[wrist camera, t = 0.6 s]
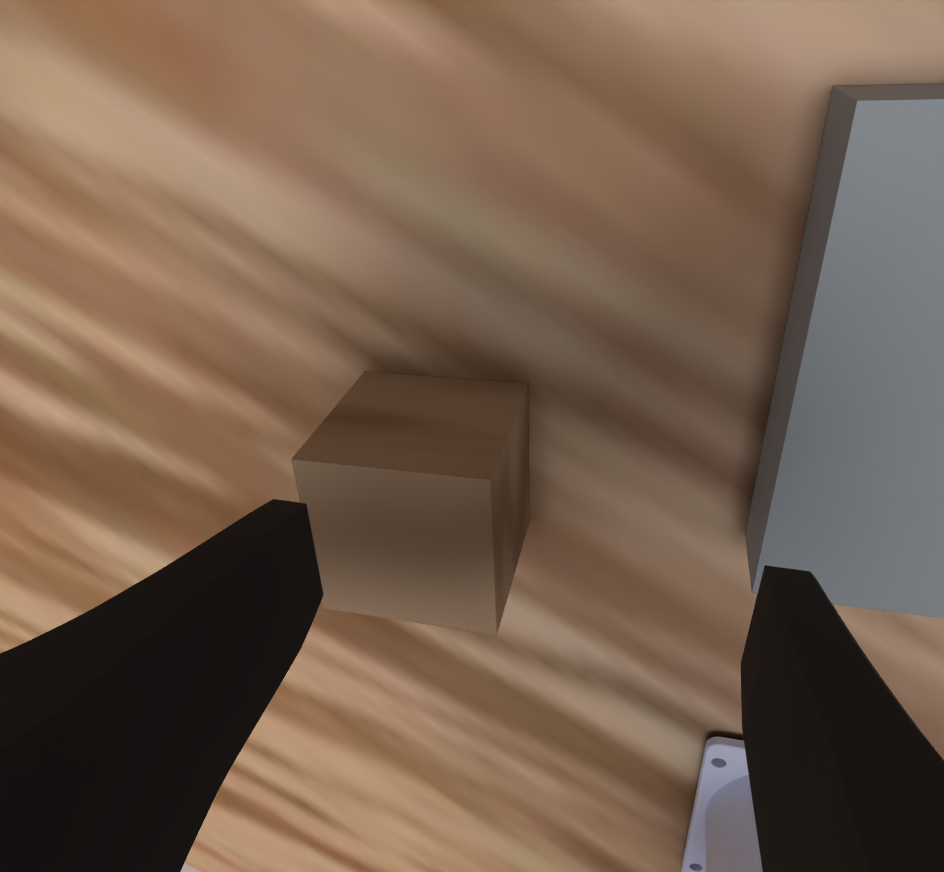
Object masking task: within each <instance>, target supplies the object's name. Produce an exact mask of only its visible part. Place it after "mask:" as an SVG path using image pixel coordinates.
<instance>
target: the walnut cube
mask: <svg viewBox="0 0 944 872" xmlns="http://www.w3.org/2000/svg"><path fill="white" fill-rule="evenodd" d="M291 460H292V465H293V470H294V475H295V479H296V484H297V489H298V493H299V498H300V503H305V504H307V509H308V514H309V520H310V525H311V530H312V536H313V541H314V546H315V552H316V557H317V562H318V567H319V573H320V578H321V583H322V589H323V594H324V595H323V597H322V600H321V601H322V606H323V608H325V609H331V610H338V611H344V612H351V613H357V614H364V615H370V616H377V617H383V618H389V619H396V620H402V621H409V622H415V623H422V624H428V625H435V626H441V627H447V628H454V629H460V630H467V631H473V632H480V633H486V634H493V635H497V632H498V629H499V625H500V622H501V618H502V615H503V611H504V608H505V604H506V601H507V597H508V594H509V590H510V587H511V583H512V580H513V576H514V573H515V570H516V566H517V563H518V559H519V556H520V552H521V549H522V545H523V542H524V538H525V535H526V531H527V528H528V524H529V402H528V383H521V382H507V381H493V380H478V379H464V378H450V377H436V376H422V375H408V374H394V373H380V372H366V371H365V372H364V373H363V374H362V375H361V377H360V378H359V379H358V380H357V381H356V383H355V384H354V385H353V386H352V387H351V389H350V390H349V391H348V392H347V393H346V395H345V396H344V397H343V398H342V399H341V401H340V402H339V403H338V404H337V405H336V407H335V408H334V409H333V410H332V411H331V413H330V414H329V415H328V416H327V417H326V419H325V420H324V421H323V422H322V423H321V425H320V426H319V427H318V428H317V429H316V430H315V432H314V433H313V434H312V435H311V436H310V438H309V439H308V440H307V441H306V442H305V444H304V445H303V446H302V447H301V448H300V450H299V451H298V452H297V453H296V454H295V456H294V457H293V458H292V459H291Z"/></svg>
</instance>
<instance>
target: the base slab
mask: <svg viewBox="0 0 944 872" xmlns="http://www.w3.org/2000/svg"><path fill="white" fill-rule="evenodd" d="M745 537H746V546H747V554H748V563H749V571H750V580H751V588H752V593H755V594H758V590H759V586H760V582H761V578H762V574H763V570H764V566H765V565H767V566H774V567H782V568H789V569H797V570H804V571H810V572H811V573H812V574H813V575H814V576H815V578H816V579H817V580H818V582H819V584H820V585H821V587H822V589H823V590H824V592H825V593H826V595H827V597H828V598H829V600H830V602H831V603H832V604H839V605H847V606H854V607H862V608H870V609H877V610H885V611H893V612H900V613H908V614H916V615H923V616H931V617H939V618H944V83H934V84H893V85H852V86H833V88H832V93H831V98H830V103H829V109H828V114H827V119H826V124H825V129H824V134H823V139H822V144H821V149H820V155H819V160H818V165H817V170H816V175H815V180H814V185H813V190H812V195H811V201H810V206H809V211H808V216H807V221H806V226H805V231H804V236H803V241H802V247H801V252H800V257H799V262H798V267H797V272H796V277H795V282H794V287H793V293H792V298H791V303H790V308H789V313H788V318H787V323H786V328H785V333H784V339H783V344H782V349H781V354H780V359H779V364H778V369H777V374H776V379H775V385H774V390H773V395H772V400H771V405H770V410H769V415H768V420H767V425H766V431H765V436H764V441H763V446H762V451H761V456H760V461H759V466H758V471H757V477H756V482H755V487H754V492H753V497H752V502H751V507H750V512H749V517H748V523H747V528H746V533H745Z"/></svg>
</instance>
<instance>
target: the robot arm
mask: <svg viewBox="0 0 944 872" xmlns="http://www.w3.org/2000/svg"><path fill="white" fill-rule="evenodd" d="M323 595H324V594H323V589H322V583H321V578H320V573H319V567H318V562H317V557H316V552H315V546H314V541H313V536H312V530H311V525H310V520H309V514H308V509H307V504H305V503H298V502H290V501H283V500H275V499H273V500H271V501H270V502H268V503H266V504H264V505H262V506H261V507H259V508H257V509H256V510H254V511H253V512H251V513H249V514H248V515H246V516H244V517H243V518H241V519H240V520H238V521H237V522H235V523H233V524H232V525H230V526H229V527H227V528H226V529H224V530H222V531H221V532H219V533H218V534H216V535H215V536H213V537H212V538H210V539H208V540H207V541H205V542H204V543H202V544H201V545H199V546H197V547H196V548H194V549H193V550H191V551H189V552H188V553H186V554H185V555H183V556H182V557H180V558H178V559H177V560H175V561H174V562H172V563H170V564H169V565H167V566H166V567H164V568H162V569H161V570H159V571H157V572H156V573H154V574H152V575H151V576H149V577H147V578H145V579H144V580H142V581H140V582H138V583H137V584H135V585H133V586H132V587H130V588H128V589H126V590H125V591H123V592H121V593H120V594H118V595H116V596H114V597H113V598H111V599H109V600H107V601H106V602H104V603H102V604H101V605H99V606H97V607H95V608H93V609H91V610H89V611H88V612H86V613H84V614H82V615H80V616H78V617H76V618H74V619H72V620H70V621H68V622H67V623H65V624H63V625H61V626H58V627H56V628H54V629H52V630H50V631H48V632H46V633H44V634H42V635H40V636H38V637H36V638H34V639H32V640H30V641H28V642H26V643H23V644H21V645H19V646H17V647H15V648H12V649H10V650H8V651H5V652H3V653H1V654H0V872H180V871H181V869H182V867H183V864H184V862H185V860H186V858H187V855H188V853H189V851H190V849H191V847H192V845H193V843H194V840H195V838H196V836H197V834H198V832H199V830H200V828H201V826H202V823H203V821H204V819H205V817H206V815H207V813H208V811H209V809H210V806H211V804H212V802H213V800H214V798H215V796H216V794H217V792H218V790H219V788H220V786H221V784H222V783H223V781H224V779H225V777H226V775H227V773H228V772H229V770H230V768H231V766H232V764H233V763H234V761H235V759H236V758H237V756H238V754H239V753H240V751H241V749H242V748H243V746H244V744H245V742H246V741H247V739H248V737H249V736H250V734H251V732H252V731H253V729H254V727H255V726H256V724H257V722H258V721H259V719H260V717H261V716H262V714H263V712H264V711H265V709H266V707H267V706H268V704H269V702H270V701H271V699H272V697H273V695H274V694H275V692H276V690H277V689H278V687H279V685H280V684H281V682H282V680H283V678H284V677H285V675H286V673H287V672H288V670H289V668H290V666H291V665H292V663H293V661H294V660H295V658H296V656H297V654H298V652H299V651H300V649H301V647H302V645H303V642H304V640H305V638H306V636H307V633H308V631H309V629H310V627H311V624H312V622H313V620H314V617H315V615H316V612H317V610H318V607H319V605H320V602H321V600H322V597H323ZM741 700H742V730H743V738H744V741H743V740H737V739H731V738H726V737H712V738H710V739H708V740H707V742H706V744H705V749H704V754H703V759H702V764H701V769H700V775H699V780H698V785H697V790H696V795H695V800H694V805H693V810H692V815H691V820H690V825H689V830H688V835H687V840H686V846H685V851H684V856H683V861H682V866H681V872H944V760H943V759H942V757H941V756H940V755H939V754H938V752H937V751H936V750H935V749H934V747H933V746H932V745H931V744H930V742H929V741H928V740H927V739H926V737H925V736H924V735H923V734H922V732H921V731H920V730H919V728H918V727H917V726H916V724H915V723H914V722H913V720H912V719H911V718H910V717H909V715H908V714H907V713H906V711H905V710H904V709H903V707H902V706H901V704H900V703H899V702H898V700H897V699H896V698H895V696H894V695H893V693H892V692H891V691H890V689H889V688H888V686H887V685H886V684H885V682H884V681H883V679H882V678H881V677H880V675H879V674H878V673H877V671H876V670H875V668H874V667H873V665H872V664H871V663H870V661H869V660H868V658H867V657H866V655H865V654H864V652H863V651H862V649H861V648H860V646H859V645H858V643H857V642H856V640H855V639H854V637H853V636H852V634H851V633H850V631H849V630H848V628H847V627H846V625H845V624H844V622H843V620H842V619H841V617H840V616H839V614H838V613H837V611H836V609H835V608H834V606H833V605H832V603H831V602H830V600H829V598H828V597H827V595H826V593H825V592H824V590H823V589H822V587H821V585H820V584H819V582H818V580H817V579H816V578H815V576H814V575H813V574H812V573H811V572H810V571H804V570H797V569H789V568H782V567H774V566H767V565H765V566H764V570H763V574H762V578H761V582H760V586H759V590H758V595H757V599H756V603H755V607H754V611H753V615H752V619H751V624H750V628H749V632H748V636H747V640H746V644H745V648H744V652H743V657H742V661H741Z"/></svg>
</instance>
